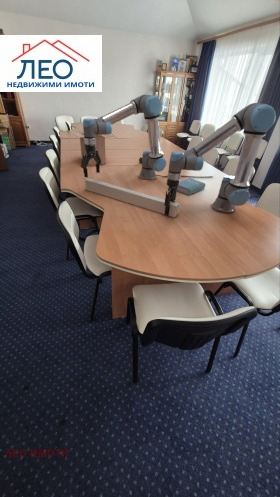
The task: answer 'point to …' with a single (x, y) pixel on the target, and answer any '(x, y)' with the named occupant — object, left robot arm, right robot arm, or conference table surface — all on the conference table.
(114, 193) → the beam
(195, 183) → the book
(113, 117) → the left robot arm
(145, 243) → the conference table surface
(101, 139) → the box
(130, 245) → the conference table surface
